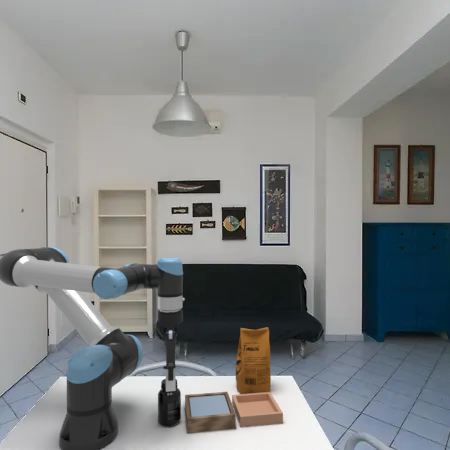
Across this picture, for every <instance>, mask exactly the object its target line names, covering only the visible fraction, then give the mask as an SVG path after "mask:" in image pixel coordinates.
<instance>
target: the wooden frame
mask: <svg viewBox="0 0 450 450" xmlns="http://www.w3.org/2000/svg"><path fill="white" fill-rule="evenodd" d="M216 395H224V396H225V399H226V402H227V405H228V408H229V411H230V413H229V414H218V415H207V416H196V417H191V411H190V403H189V398H191V397H203V396H216ZM184 411H185V412H184V413H185V421H186V422H185V425H186V433H187V434H194V433H206V432H214V431H224V430H225V431H227V430H234V429H236V428H237V427H236V425H237V423H236V422H237V416H236V414H235V411H234V408H233V405H232V399H231V398H230V395H229V392H228V391H218V392H216V391H215V392H208V393H207V392H205V393H193V394H184Z"/></svg>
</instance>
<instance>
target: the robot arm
mask: <svg viewBox="0 0 450 450" xmlns="http://www.w3.org/2000/svg"><path fill="white" fill-rule="evenodd" d="M1 256H2V257H0V281H1V282H2V283H3V284H5V285H7V286H9V287H10V286H11V287H18V288H29V287H31V286H34V288H36V290H37V292H39V293H42V294H44V293H46V295H48V297H49V298H50V299H51V300H52V301H53V303H54V305H56V307H57V308H58V310H60V312H61V313H62V314H63V315H64V317H65V318H66V319H67V320H68V321H69V322H70V324H71V325H72V326H73V328H74V329H75V330H76V331H77V333H78V334H79V335H80V336H81V337H82V339H83V340H84V341H85V343H86V344H87V345H88V347H87V346H85V347H82V348H80V349H78V350H77V351H75V352H74V353H72V355H71V356H70V357H69V358H68V361H67V369H66V372H65V373H66V376H65V377H66V414H65V417H64V420H63V422H62V425H61V429H60V431H59V438H58V440H59V447H60V448H61V450H101V449H103V448H105V447H106V446H108V445H109V444H111V443H112V442H113V441H114V440H115V439H116V437H117V435H118V432H119V424H118V423H119V421H118V419H117V418H118V417H117V416H116V413H115V410H114V407H113V403H112V401H113V400H112V395H113V393H112V392H113V391H112V390H113V388H114V387H115V386H116V385H117V384H118V383H120V382H121V381H122V380H124V379H125V378H126V377H127V376H130V375H132V374H133V372H135V371H136V370H137V369H138V368H139V366H140V365H141V363H142V361H143V358H144V356H143V355H144V350H143V346H142V343H141V341H140V340H139V338H138V337H136V336H134V335H133V334H125V333H124V332H123V330H121V328H120V327H112V325H111V324H110V323H109V322H108V321H107V319H106V318H105V317H104V316H103V315H102V314H101V313H100V311H99V310H98V309H97V308H96V306H95V305H94V304H93V302H91V300H90V299H89V298H88V297H87V296H86V294H85V293H89V294H96V296H98V297H99V298H101V299H103V300H110V299H116V298H119V297H121V296H123V295H126V294H129V293H133V292H136V291H138V290H144V289H145V290H146V289H147V290H156V291H157V309H158V311H157V323H158V324H159V325H162V326H166V327H163V337H164V346H166V347H165V348H166V349H165V365H163V370H165V379H166V392H168V391H176V379H177V378H176V374H177V373H176V368H177V367H176V366H177V365H176V349H177V336H178V328H177V326H175V325H180V324H181V323H183V322H184V315H183V314H184V311H183V303H184V301H185V300H186V299H185V297H183V295H184V294H183V292H184V291H183V283H184V281H183V280H184V276H183V275H184V271H183V270H184V269H183V261H182V259H181V258H180V257H162V258H158V260H157V263H156V264H148V263H145V264H144V263H136V262H135V263H127V264H124V265H123V267H118V268H116V267H106V266H105V267H104V266H98V265H97V266H96V265H87V264H78V263H70V260H69V257H68V256H67V254H66V252H64V251H63V250H62V249H60V248H59V247H58V248H57V247H52V246H51V247H49V246H43V247H40V248H20V249H19V248H18V249H13V250H11V251H8V252H7V253H5V254H3V255H1Z"/></svg>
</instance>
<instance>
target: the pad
mask: <svg viewBox="0 0 450 450" xmlns="http://www.w3.org/2000/svg"><path fill="white" fill-rule="evenodd" d="M189 403H190V411H191V417H196V416H207V415H218V414H229V413H230V411H229V408H228V405H227V402H226V399H225V396H224V395H216V396H203V397H191V398H189Z"/></svg>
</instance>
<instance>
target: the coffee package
mask: <svg viewBox="0 0 450 450" xmlns="http://www.w3.org/2000/svg"><path fill="white" fill-rule="evenodd" d="M239 333H240V336H239V340H238V347H237V357H236V362H235V383H236V386H237V387H236V388H237V391H238V393H239V394H252V393H264V392H270V393H271V380H272V379H271V377H272V376H271V345H270V329H269V327H262V328H258V329H257V328H256V329H249V328H245V327H244V328H243V327H240V331H239Z"/></svg>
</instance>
